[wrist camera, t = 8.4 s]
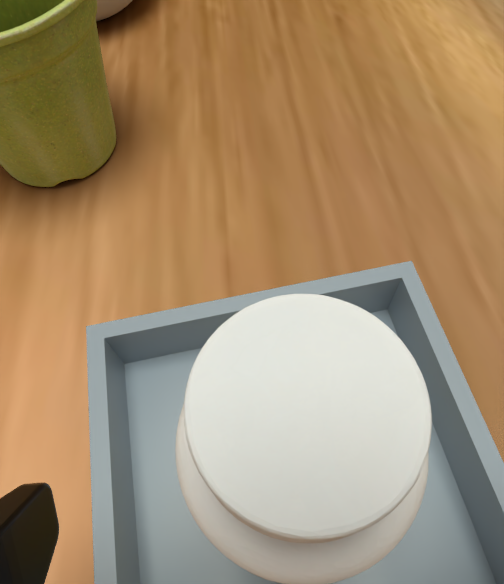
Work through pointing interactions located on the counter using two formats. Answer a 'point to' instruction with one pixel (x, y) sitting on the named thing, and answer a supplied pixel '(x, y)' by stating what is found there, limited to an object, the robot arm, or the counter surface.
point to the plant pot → (52, 92)
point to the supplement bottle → (304, 439)
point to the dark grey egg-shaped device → (109, 8)
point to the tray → (163, 428)
